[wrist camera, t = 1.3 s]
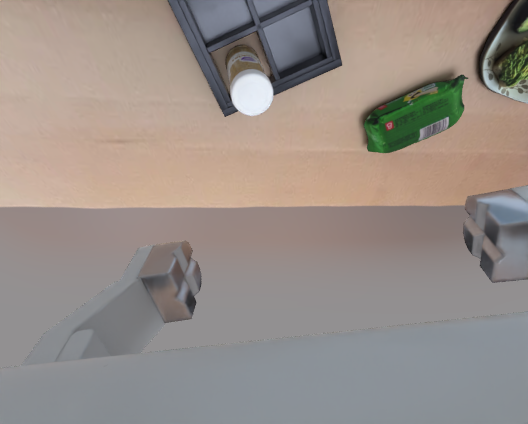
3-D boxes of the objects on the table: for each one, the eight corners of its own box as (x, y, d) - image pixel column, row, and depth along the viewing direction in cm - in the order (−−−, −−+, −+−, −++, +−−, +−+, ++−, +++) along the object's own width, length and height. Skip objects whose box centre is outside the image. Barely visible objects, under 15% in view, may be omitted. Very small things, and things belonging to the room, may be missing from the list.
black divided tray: (160, -22, 41) (157, -21, 39) (299, -93, 39) (304, -95, 37) (224, 110, 51) (225, 117, 49) (336, 60, 49) (342, 65, 47)
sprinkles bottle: (255, 41, 46) (271, 70, 36) (260, 76, 49) (276, 112, 38) (221, 47, 46) (227, 78, 36) (228, 82, 49) (235, 120, 38)
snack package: (457, 108, 56) (477, 121, 52) (364, 149, 58) (377, 164, 54) (454, 66, 52) (475, 76, 48) (354, 112, 54) (366, 125, 50)
